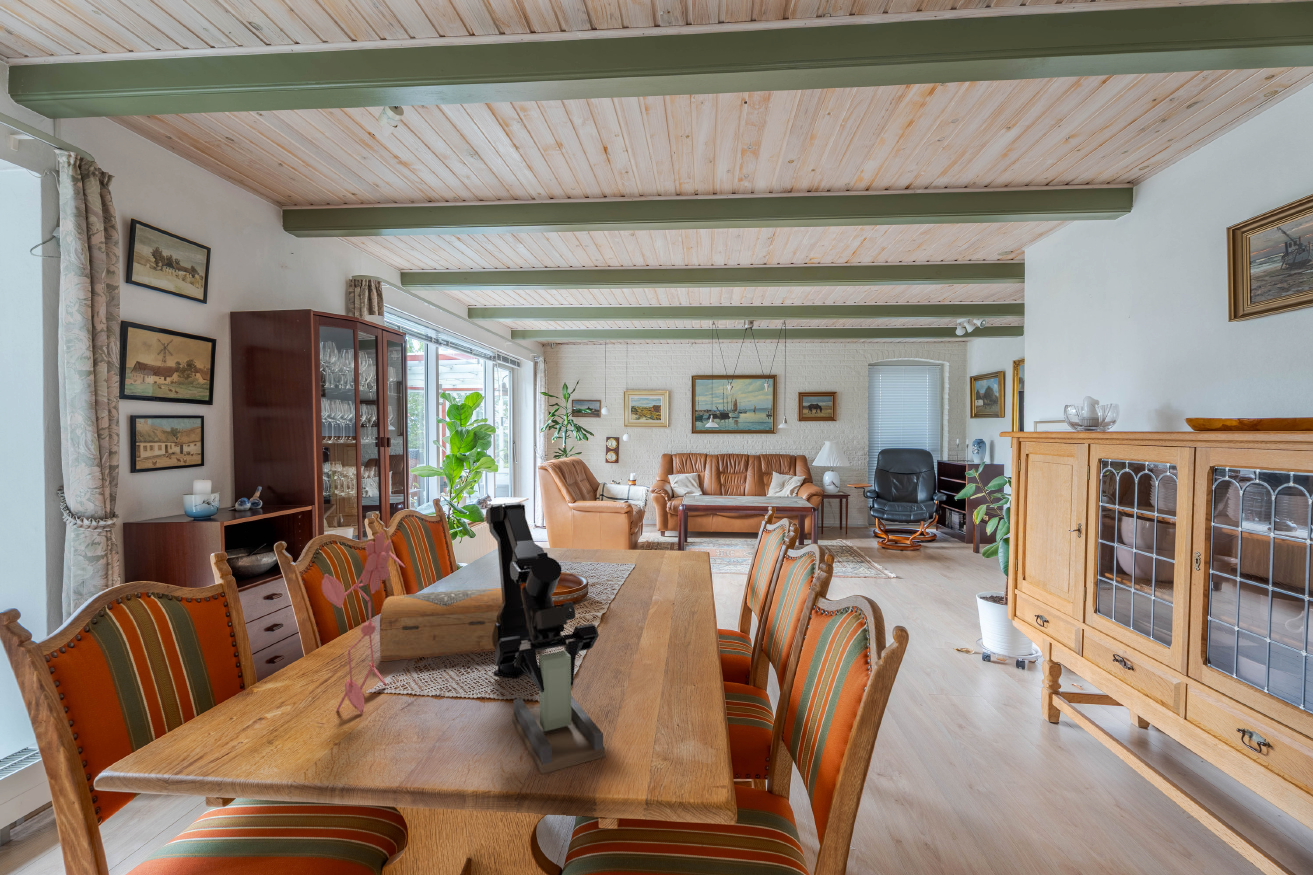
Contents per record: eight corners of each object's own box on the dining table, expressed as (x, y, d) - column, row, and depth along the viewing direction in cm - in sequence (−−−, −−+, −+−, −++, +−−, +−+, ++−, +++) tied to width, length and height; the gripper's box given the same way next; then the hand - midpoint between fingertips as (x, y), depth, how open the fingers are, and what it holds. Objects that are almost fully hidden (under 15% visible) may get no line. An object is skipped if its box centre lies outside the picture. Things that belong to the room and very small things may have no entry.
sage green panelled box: (539, 723, 108) (538, 655, 108) (566, 717, 110) (565, 650, 110) (544, 731, 105) (543, 661, 105) (571, 724, 107) (570, 656, 107)
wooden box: (508, 630, 166) (507, 581, 166) (506, 651, 150) (506, 597, 150) (393, 639, 160) (392, 588, 160) (379, 662, 144) (378, 605, 143)
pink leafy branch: (308, 731, 110) (309, 543, 110) (373, 674, 136) (374, 522, 136) (390, 732, 110) (392, 545, 110) (440, 675, 136) (442, 523, 136)
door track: (512, 720, 114) (512, 699, 114) (567, 707, 119) (567, 688, 119) (541, 773, 96) (541, 749, 96) (604, 756, 101) (604, 733, 101)
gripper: (497, 594, 106) (512, 678, 97) (594, 582, 115) (617, 658, 105) (488, 625, 114) (502, 706, 104) (581, 611, 122) (601, 685, 112)
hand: (557, 688), depth 106 cm, fingers closed on sage green panelled box, 5 cm apart
